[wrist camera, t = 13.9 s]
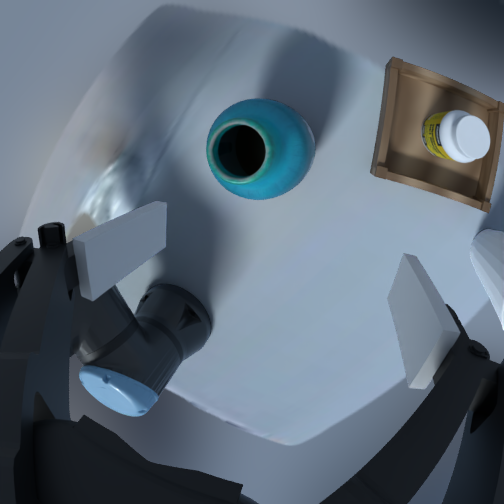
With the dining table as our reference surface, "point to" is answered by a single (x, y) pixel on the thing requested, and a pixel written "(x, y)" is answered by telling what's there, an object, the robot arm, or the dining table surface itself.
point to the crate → (410, 142)
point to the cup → (490, 266)
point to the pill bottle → (455, 136)
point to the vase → (260, 148)
